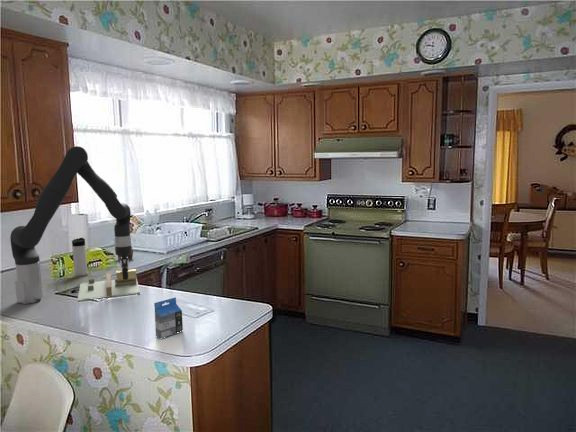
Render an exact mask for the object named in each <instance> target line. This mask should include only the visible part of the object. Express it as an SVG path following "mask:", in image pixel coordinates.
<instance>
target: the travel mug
mask: <svg viewBox="0 0 576 432" xmlns="http://www.w3.org/2000/svg"><path fill="white" fill-rule="evenodd" d="M71 245H72V246H71V247H72V248H71V249H72V257H73V258H72V261H73V272H74V278H83V277H88V275H89V274H88V273H89V271H88V261H87V260H88V259H87V249H86V247H87V246H86V239H85V238H84V237H79V238H74V239H73V240H71Z"/></svg>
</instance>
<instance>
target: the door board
mask: <svg viewBox="0 0 576 432" xmlns="http://www.w3.org/2000/svg"><path fill="white" fill-rule="evenodd" d="M111 273H112V272H106V273H105V275H106V280H102V281H101V280H100V281H95V278H88V282H82V283H80V285H79V290H78V295H77V303H79V302H89V301H95V300H94V299H98V300H104V299H103V298H106V299H112V298H121V297H128V296H136V294H138V295H141V291H140V286H139V282H138V278H137V277H136V280H137V283H136V281H127V282H118V283H117V277H116V278H114V279H112V274H111Z"/></svg>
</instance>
